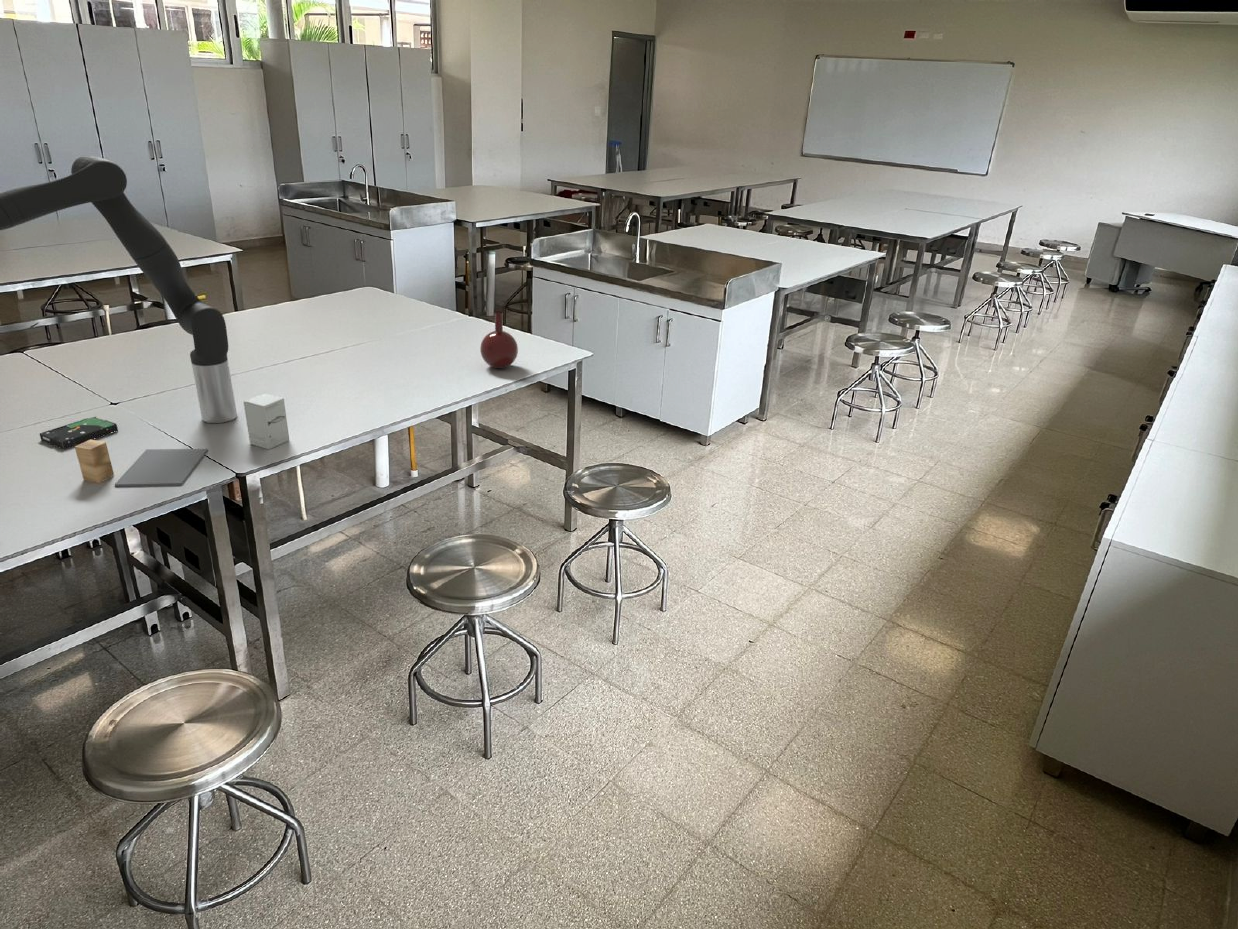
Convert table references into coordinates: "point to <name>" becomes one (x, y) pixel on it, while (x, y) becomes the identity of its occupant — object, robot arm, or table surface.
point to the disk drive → (78, 432)
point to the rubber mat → (162, 467)
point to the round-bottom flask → (499, 345)
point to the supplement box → (266, 421)
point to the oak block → (94, 461)
